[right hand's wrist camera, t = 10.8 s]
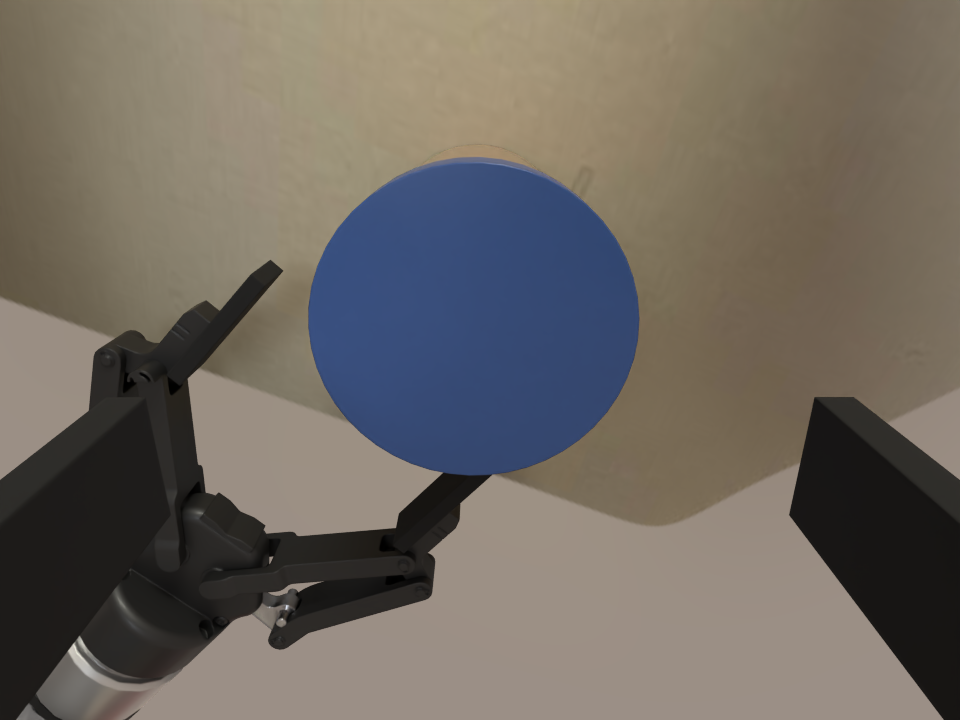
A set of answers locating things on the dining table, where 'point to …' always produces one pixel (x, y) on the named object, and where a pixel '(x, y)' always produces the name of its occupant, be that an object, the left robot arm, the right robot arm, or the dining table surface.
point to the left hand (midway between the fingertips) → (384, 368)
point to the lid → (473, 317)
